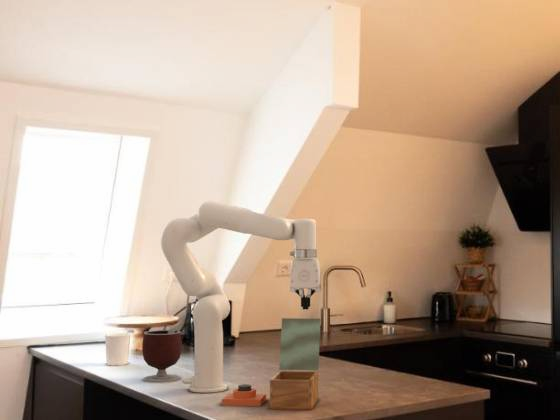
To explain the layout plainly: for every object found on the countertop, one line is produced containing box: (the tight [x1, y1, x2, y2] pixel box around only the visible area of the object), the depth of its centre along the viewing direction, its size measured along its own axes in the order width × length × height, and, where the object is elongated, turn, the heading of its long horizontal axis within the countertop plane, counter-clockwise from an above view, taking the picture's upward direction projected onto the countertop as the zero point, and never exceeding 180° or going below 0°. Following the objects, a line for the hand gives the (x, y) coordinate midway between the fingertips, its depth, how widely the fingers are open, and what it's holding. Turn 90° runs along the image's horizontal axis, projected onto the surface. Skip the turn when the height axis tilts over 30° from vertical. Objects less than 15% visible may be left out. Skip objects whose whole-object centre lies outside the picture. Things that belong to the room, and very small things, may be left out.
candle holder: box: [104, 332, 131, 366], centre depth 313 cm, size 10×10×12 cm
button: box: [237, 383, 252, 391], centre depth 239 cm, size 4×4×2 cm
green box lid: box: [278, 317, 321, 371], centre depth 248 cm, size 16×13×1 cm
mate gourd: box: [141, 321, 183, 383], centre depth 280 cm, size 16×14×20 cm
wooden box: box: [269, 370, 319, 411], centre depth 237 cm, size 16×13×9 cm
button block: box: [221, 387, 267, 407], centre depth 239 cm, size 12×9×4 cm
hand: (305, 309), depth 258 cm, fingers closed
